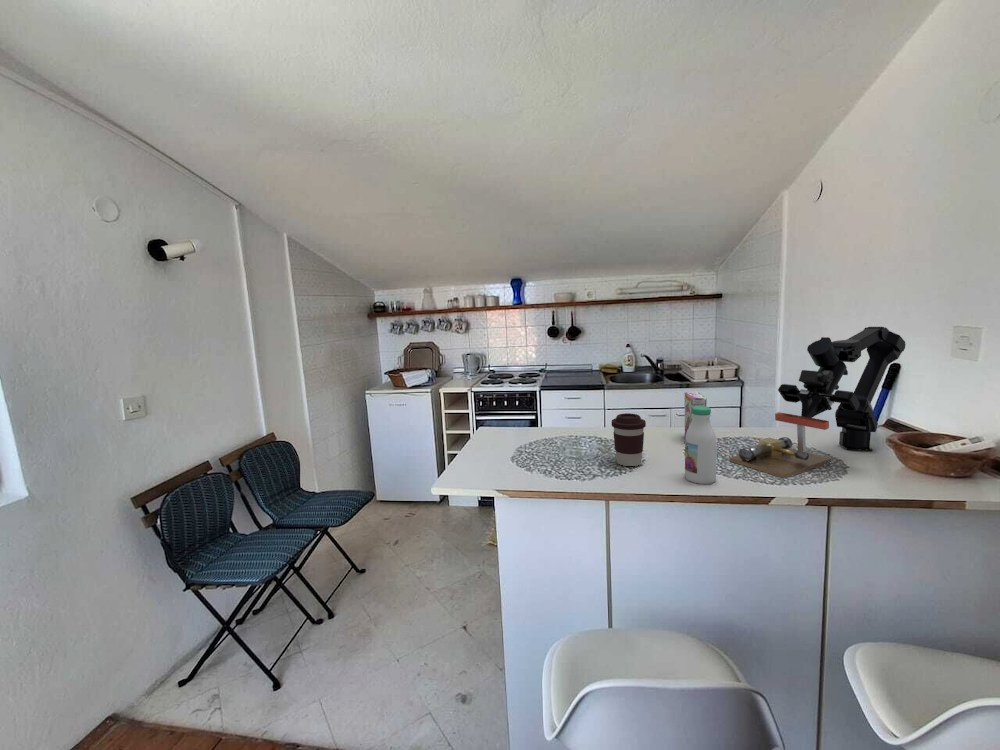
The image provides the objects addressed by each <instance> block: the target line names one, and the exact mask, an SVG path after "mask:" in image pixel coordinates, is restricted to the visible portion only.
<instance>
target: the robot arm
mask: <svg viewBox="0 0 1000 750" xmlns="http://www.w3.org/2000/svg"><path fill="white" fill-rule="evenodd" d="M905 349H906V341H905V340H904V338H903V337H902V336H901V335H900V334H898V333H896V332H893V331H891V330H889V328H887V327H885V326H868V327H867V326H866V327H865V328H863V330H861V331H859V332H858V333H856V334H854V335H853V336H851V337H849V338H847V339H840V340H835V341H832V339H831V337H828V336H827V337H824V336H823V337H820V339H817V340H816V341H813V342H812V343H810V344H809V345H807V348H806V351H807V353H808V354H809V356H810V358H811V359H812V362H813V363H814V365H815V366H817V367H819V368H818V370H809V369H808V370H806V369H802V370H801V372H800V375H799V378H798V382H801V383H803V385H802V386H803V389H802V388H801V389H799V387H798V386H797V385H796V384H788V383H782V384H780V386H779V387H778V389H777V392H778V393H779V394H780V396H781V397H782V399H783V400H784V401H785V402H788V403H796V404H797V403H799V402H800V403H801V415H800V416H803V417H809V418H814V417H816V416H817V415H820V414H822V413H824V412H826V411H831V410H832V409H833V408H832V406H833V405H834V404H835V403H839V405H838V407H837V409H836V410H835V413H834V414H835V422H836V427H837V428H841V431H839V442H838V445H839V446H843V448H844V449H845V450H848V451H869V452H872V451H873V448H871V435H872V434H871V433H876V432H877V429H878V421H877V420H876V417H875V416H874V412H875V411H874V410H873V406H872V404H871V403H872V401H873V399H874V396H875V395H876V392H877V390H878V388H879V386H880V384H881V381H882V379H883V377H884V375H885V372H886V370H887V369H888V366H889V365H890V364H891V363H893V362H895V361H896V360H898V359H899V358H900V357H901V355H902V353H903V352H904V351H905ZM864 350H866V352H867V354H868V357H869V358H868V360H867V363H866V365H865V367H864V368H863V369H864V370H863V371H862V374H861V376H860V378H859V380H858V382H857V385H856V387H855V389H854V391H850V390H849V391H847V390H839V388H840V386H839V383H840V381H841V378H842V377H843V376H848V374H849V372H848V369H847V368H848V367H847V365H846V364H845V363H855V362H856V361H857V360H859V359H860V358H861V357H862V351H864ZM834 391H835V392H834Z"/></svg>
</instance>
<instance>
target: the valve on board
mask: <svg viewBox="0 0 1000 750" xmlns="http://www.w3.org/2000/svg"><path fill="white" fill-rule="evenodd" d="M792 447H793V441H792V440H791V438H789V437H786V436H783V437H780V438H778V439H777V438H772V437H766V438H763V439H758V445H757V446H756V445H755V446H753V447H744V448H741V449H739V451H738V454H737V455H734V456H730V457H729V458H728V459H729V461H731V462H730V463H733V462H735V463H734V464H736V463H738V464H737V465H739V464H741V465H740V466H742V465H745V466H744V467H746V466H748V467H747V468H749V467H751V468H750V469H752V468H754V469H753V470H755V469H757V470H756V471H759V470H760V471H759V472H762V471H763V472H762V473H765V472H766V473H765V474H768V473H769V475H771V474H773V475H772V476H774V477H778V476H779V477H778V478H781V477H782V479H784V478H785V479H788V478H790V476H791V477H793V476H792V475H794V476H796V475H798V473H799V474H801V473H805V472H807V470H808V471H811V470H813V468H814V469H816V467H817V468H819V467H818V466H820V467H822V466H825V465H828V464H831V463H832V458H831V457H827V456H823V455H818V454H814V453H811V452H807V451H806V453H808V454H809V458H808V460H802V459H798V458H796V457H795V454H796V452H797V451H798V449H794V448H792ZM729 461H728V462H729ZM830 462H831V463H830ZM827 463H828V464H827ZM824 464H825V465H824ZM821 465H822V466H821ZM810 469H811V470H810ZM804 471H805V472H804ZM787 477H788V478H787Z"/></svg>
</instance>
